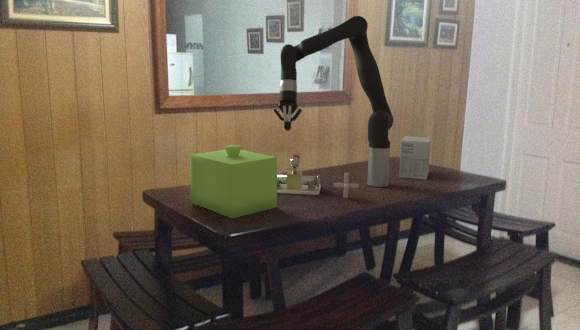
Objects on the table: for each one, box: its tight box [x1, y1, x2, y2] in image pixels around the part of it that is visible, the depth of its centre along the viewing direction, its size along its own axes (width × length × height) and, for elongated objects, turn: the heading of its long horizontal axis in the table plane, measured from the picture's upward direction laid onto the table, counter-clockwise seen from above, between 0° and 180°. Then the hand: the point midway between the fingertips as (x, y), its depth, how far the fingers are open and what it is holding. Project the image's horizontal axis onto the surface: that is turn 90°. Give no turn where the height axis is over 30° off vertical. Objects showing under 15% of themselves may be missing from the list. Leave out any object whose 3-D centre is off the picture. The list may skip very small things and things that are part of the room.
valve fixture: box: [277, 167, 322, 196], centre depth 215 cm, size 22×12×10 cm, turn 83°
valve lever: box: [289, 152, 302, 168], centre depth 219 cm, size 15×4×4 cm, turn 173°
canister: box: [189, 144, 278, 219], centre depth 190 cm, size 25×21×23 cm
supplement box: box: [398, 135, 432, 181], centre depth 247 cm, size 17×13×18 cm
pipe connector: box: [333, 172, 360, 199], centre depth 205 cm, size 10×10×10 cm
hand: (287, 130), depth 221 cm, fingers closed
